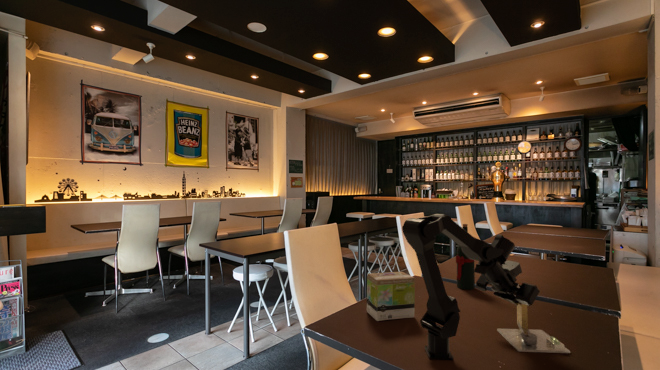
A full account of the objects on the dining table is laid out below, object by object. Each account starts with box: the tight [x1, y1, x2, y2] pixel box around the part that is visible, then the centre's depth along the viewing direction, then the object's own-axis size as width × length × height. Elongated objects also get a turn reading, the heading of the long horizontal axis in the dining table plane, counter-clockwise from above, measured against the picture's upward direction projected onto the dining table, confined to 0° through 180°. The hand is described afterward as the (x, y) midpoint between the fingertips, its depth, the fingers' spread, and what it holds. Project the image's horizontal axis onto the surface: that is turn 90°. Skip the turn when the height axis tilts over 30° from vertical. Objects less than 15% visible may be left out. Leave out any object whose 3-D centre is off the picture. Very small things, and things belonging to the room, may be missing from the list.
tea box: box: [366, 271, 416, 322], centre depth 119 cm, size 15×10×15 cm, turn 106°
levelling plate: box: [496, 328, 571, 354], centre depth 98 cm, size 14×14×3 cm
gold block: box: [516, 302, 537, 345], centre depth 101 cm, size 16×4×11 cm, turn 159°
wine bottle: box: [455, 223, 476, 291], centre depth 152 cm, size 8×10×30 cm
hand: (517, 303), depth 105 cm, fingers closed
